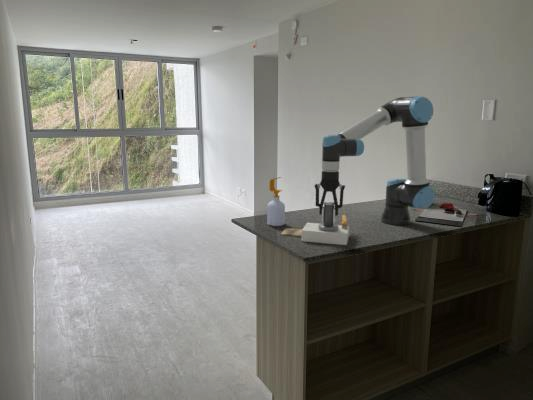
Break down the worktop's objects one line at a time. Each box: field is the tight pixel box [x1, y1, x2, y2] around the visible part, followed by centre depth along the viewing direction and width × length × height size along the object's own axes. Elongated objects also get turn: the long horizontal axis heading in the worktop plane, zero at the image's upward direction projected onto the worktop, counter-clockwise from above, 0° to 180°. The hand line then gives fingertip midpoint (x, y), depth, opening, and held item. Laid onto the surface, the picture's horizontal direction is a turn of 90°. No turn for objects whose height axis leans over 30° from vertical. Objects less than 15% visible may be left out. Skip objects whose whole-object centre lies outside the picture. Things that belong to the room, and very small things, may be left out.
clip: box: [341, 214, 348, 226], centre depth 192 cm, size 15×3×1 cm, turn 171°
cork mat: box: [280, 227, 303, 237], centre depth 196 cm, size 10×10×1 cm
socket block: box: [300, 222, 350, 246], centre depth 187 cm, size 20×14×6 cm
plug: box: [318, 201, 339, 231], centre depth 185 cm, size 9×9×17 cm
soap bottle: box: [266, 176, 286, 227], centre depth 209 cm, size 9×9×25 cm
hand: (328, 222), depth 184 cm, fingers closed on plug, 4 cm apart
